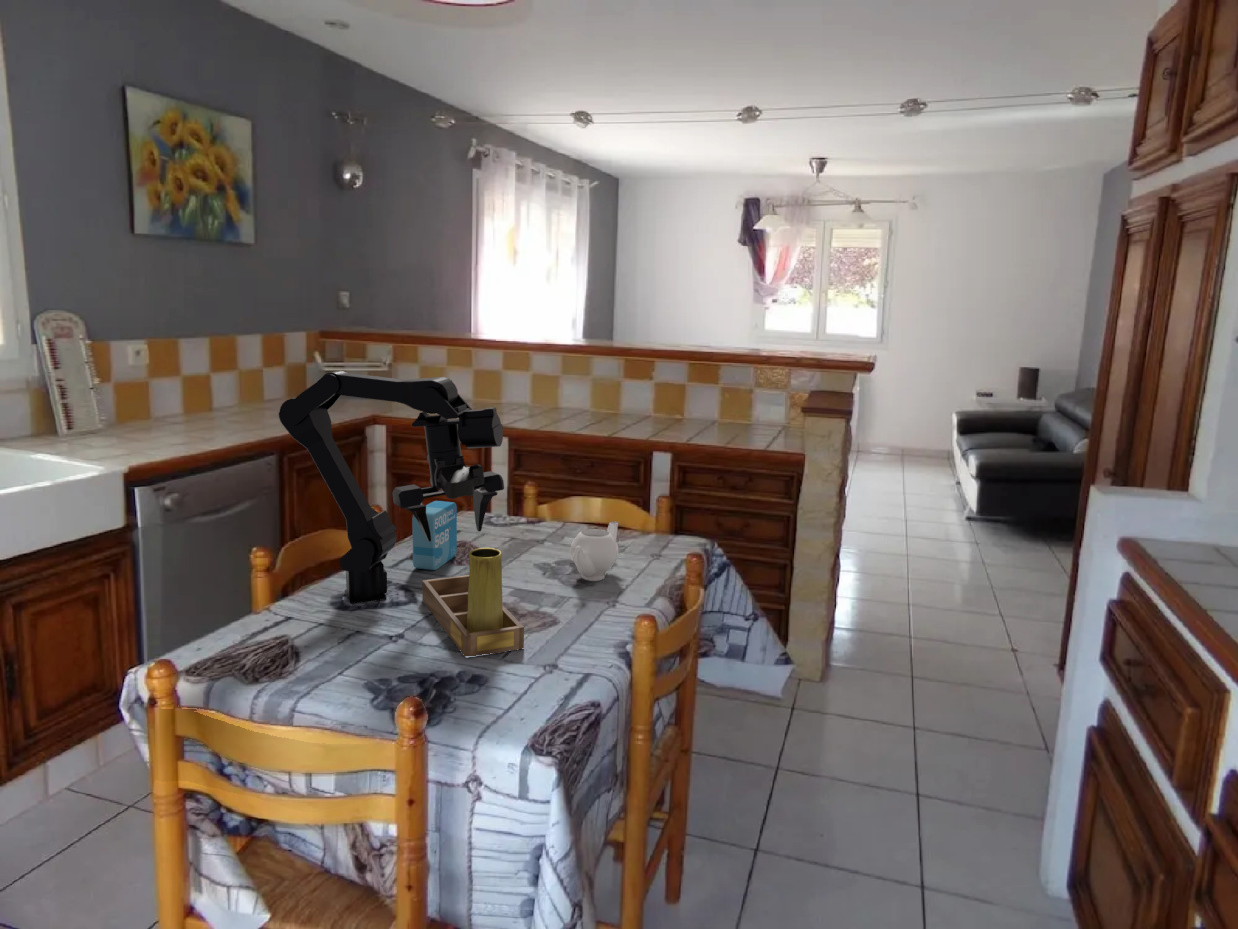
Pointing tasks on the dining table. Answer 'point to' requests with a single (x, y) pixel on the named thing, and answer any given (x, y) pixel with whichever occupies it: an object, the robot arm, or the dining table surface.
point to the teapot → (595, 551)
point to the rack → (451, 612)
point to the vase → (485, 590)
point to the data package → (436, 536)
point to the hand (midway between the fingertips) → (454, 536)
